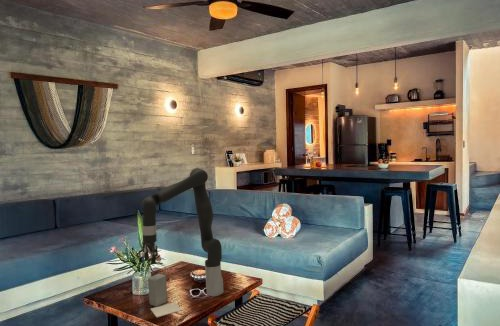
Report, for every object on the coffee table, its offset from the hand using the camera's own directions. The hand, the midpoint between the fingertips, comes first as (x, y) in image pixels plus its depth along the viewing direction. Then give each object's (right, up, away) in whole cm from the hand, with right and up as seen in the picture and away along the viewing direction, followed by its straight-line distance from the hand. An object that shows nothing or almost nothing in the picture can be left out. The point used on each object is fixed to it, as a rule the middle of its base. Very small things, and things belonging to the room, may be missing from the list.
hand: (150, 262), depth 212 cm
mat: (+10, -25, -5) cm, 27 cm away
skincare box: (+4, -25, +4) cm, 25 cm away
